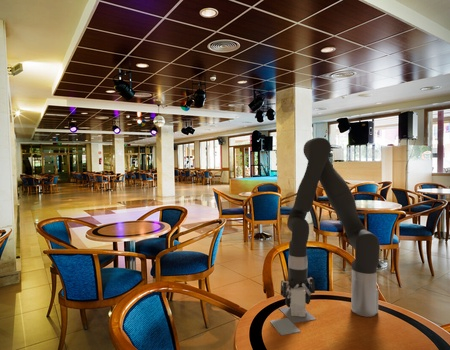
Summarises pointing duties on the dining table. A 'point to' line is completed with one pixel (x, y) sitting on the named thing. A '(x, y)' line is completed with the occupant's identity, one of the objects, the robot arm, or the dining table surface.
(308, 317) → the tile
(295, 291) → the small box
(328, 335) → the dining table surface
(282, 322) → the pad
